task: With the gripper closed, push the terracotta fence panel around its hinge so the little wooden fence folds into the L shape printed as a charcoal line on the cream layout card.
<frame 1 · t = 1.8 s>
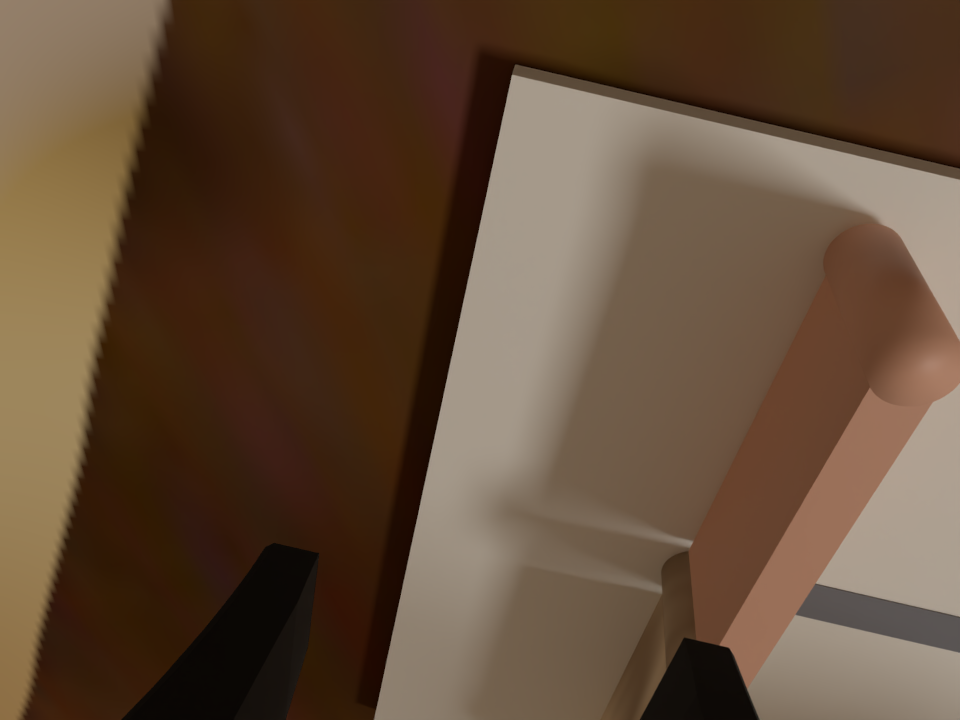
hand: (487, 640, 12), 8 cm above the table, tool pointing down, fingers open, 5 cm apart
hinged fence panel: (796, 471, 17), point 3 cm above the table, hinge at 0.0°
layout card: (776, 559, 22), on the table
fixed fence: (692, 555, 22), resting on layout card
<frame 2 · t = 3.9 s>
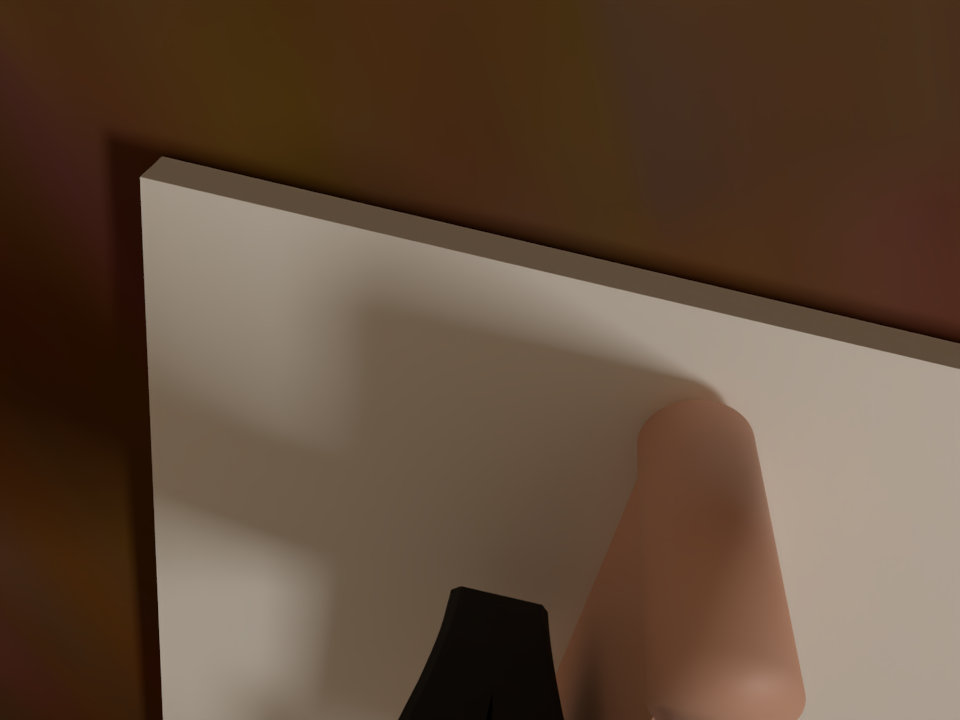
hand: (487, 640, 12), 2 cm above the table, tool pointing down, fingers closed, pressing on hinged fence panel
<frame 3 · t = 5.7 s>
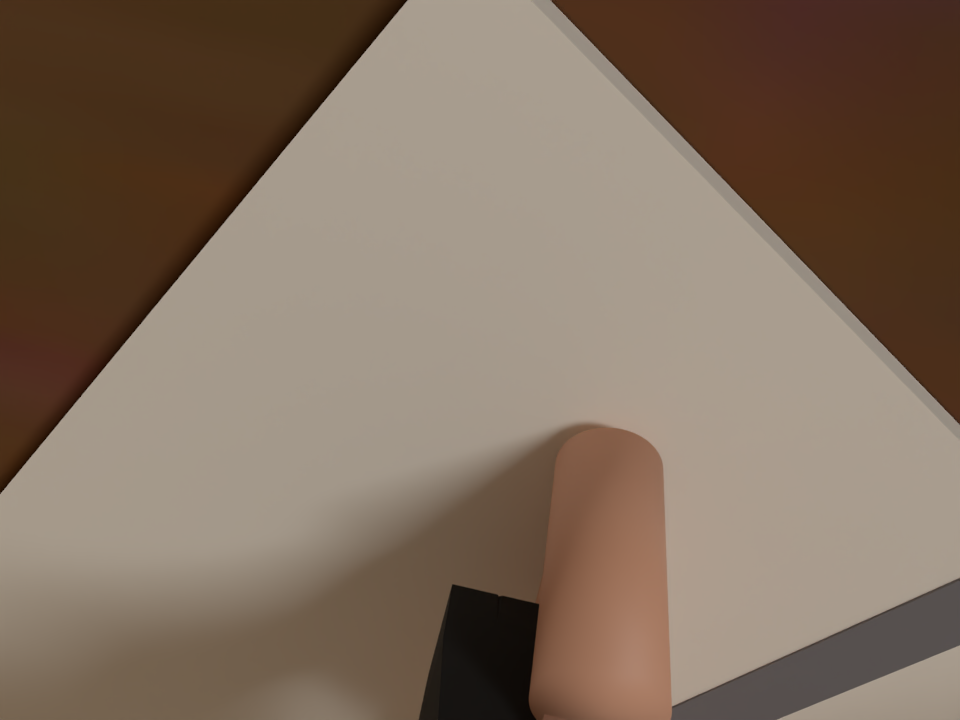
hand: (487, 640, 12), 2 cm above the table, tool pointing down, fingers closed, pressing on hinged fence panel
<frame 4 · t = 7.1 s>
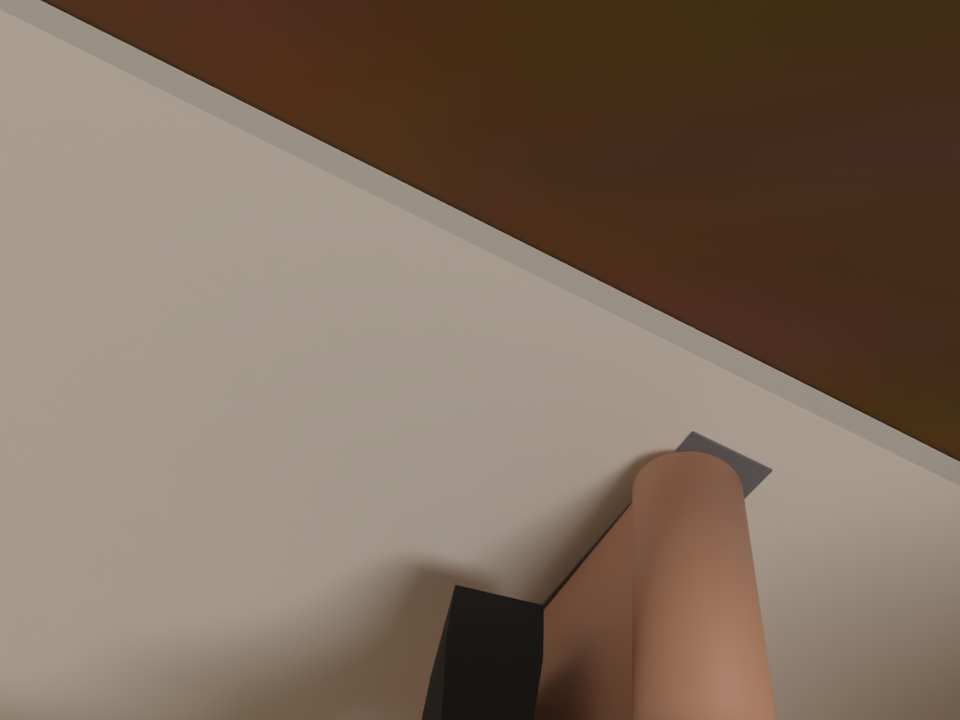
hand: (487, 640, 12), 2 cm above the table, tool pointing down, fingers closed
layout card: (451, 692, 16), on the table
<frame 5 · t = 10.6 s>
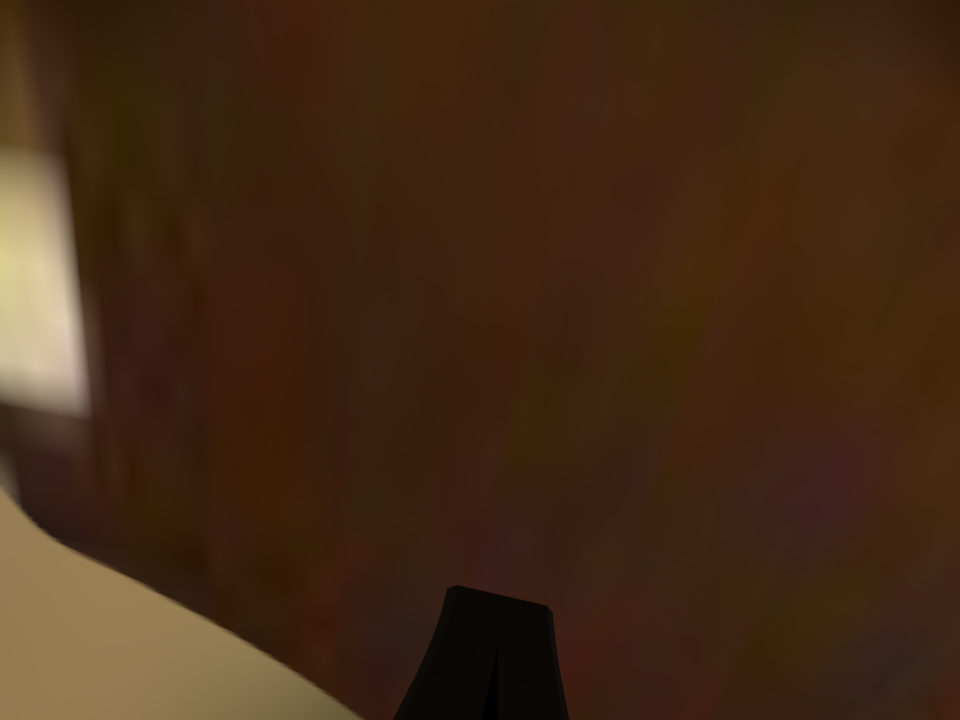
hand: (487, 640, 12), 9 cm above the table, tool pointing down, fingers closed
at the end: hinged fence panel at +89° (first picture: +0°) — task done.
